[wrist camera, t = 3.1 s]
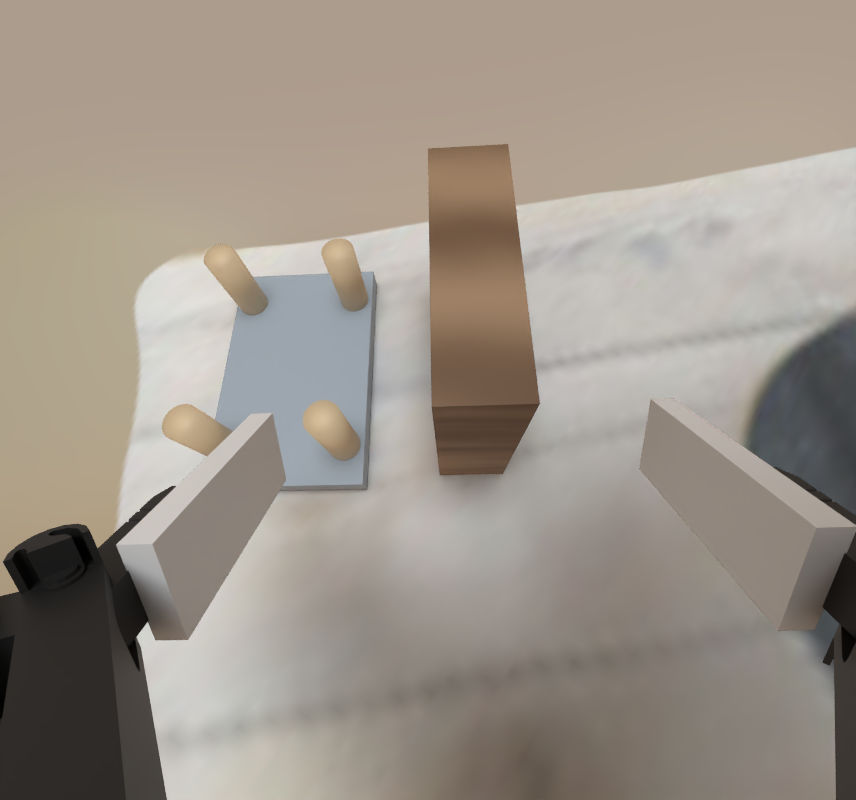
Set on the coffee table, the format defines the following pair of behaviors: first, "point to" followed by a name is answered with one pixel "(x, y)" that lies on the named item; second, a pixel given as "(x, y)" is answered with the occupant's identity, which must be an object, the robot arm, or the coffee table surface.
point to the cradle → (296, 368)
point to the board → (477, 312)
